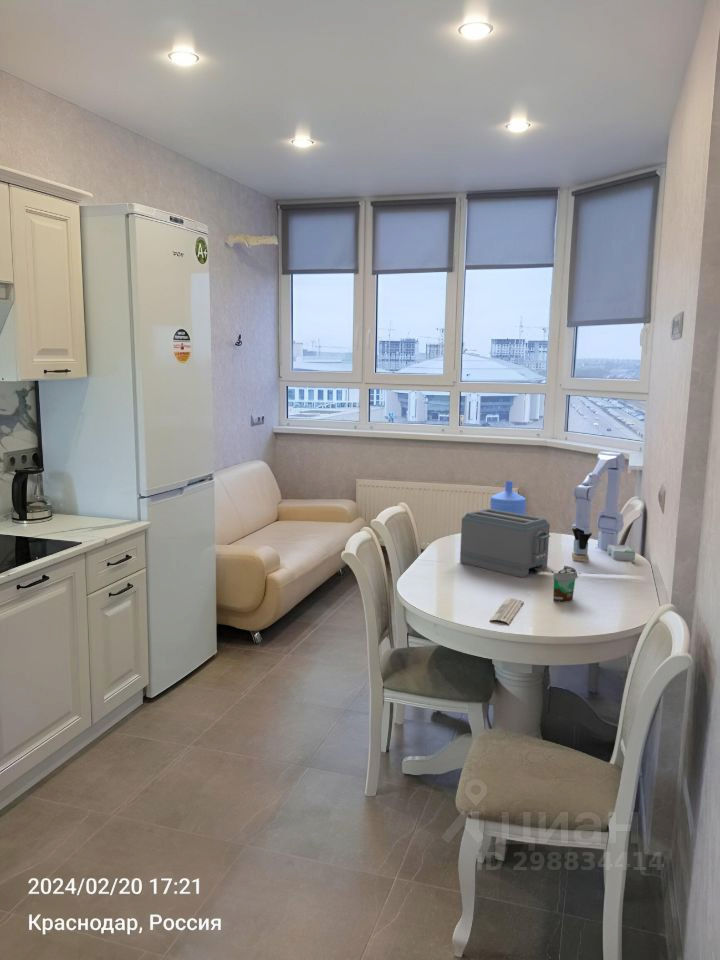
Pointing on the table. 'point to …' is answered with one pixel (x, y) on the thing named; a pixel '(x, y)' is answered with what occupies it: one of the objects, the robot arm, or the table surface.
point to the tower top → (580, 557)
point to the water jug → (508, 501)
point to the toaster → (504, 541)
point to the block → (577, 549)
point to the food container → (564, 584)
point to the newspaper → (507, 610)
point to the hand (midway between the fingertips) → (580, 547)
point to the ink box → (621, 552)
